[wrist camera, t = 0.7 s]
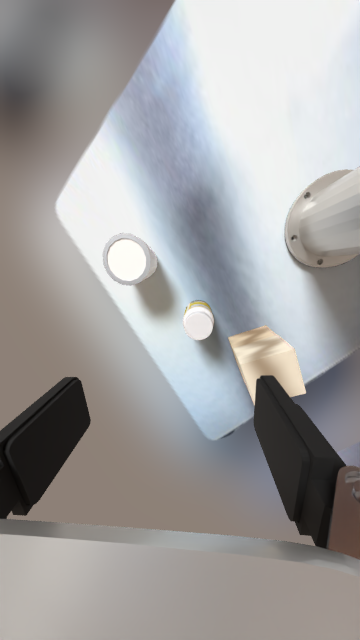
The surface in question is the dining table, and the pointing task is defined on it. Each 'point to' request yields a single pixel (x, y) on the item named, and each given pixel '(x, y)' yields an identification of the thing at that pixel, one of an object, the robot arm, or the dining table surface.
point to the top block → (270, 364)
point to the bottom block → (249, 338)
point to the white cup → (128, 259)
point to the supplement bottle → (198, 320)
